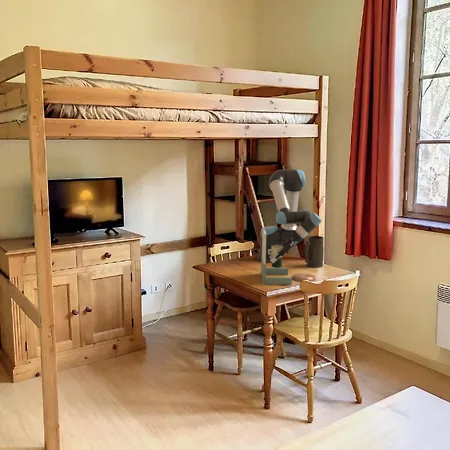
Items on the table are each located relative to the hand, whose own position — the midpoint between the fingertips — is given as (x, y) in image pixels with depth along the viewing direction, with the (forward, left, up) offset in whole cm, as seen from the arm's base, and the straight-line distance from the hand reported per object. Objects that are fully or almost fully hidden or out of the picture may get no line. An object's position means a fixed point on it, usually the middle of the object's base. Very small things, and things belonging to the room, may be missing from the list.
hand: (271, 260), depth 317 cm
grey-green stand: (+2, +3, -12) cm, 12 cm away
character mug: (+2, +3, -5) cm, 6 cm away
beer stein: (-10, +44, -12) cm, 46 cm away
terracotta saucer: (+10, +18, -12) cm, 24 cm away
